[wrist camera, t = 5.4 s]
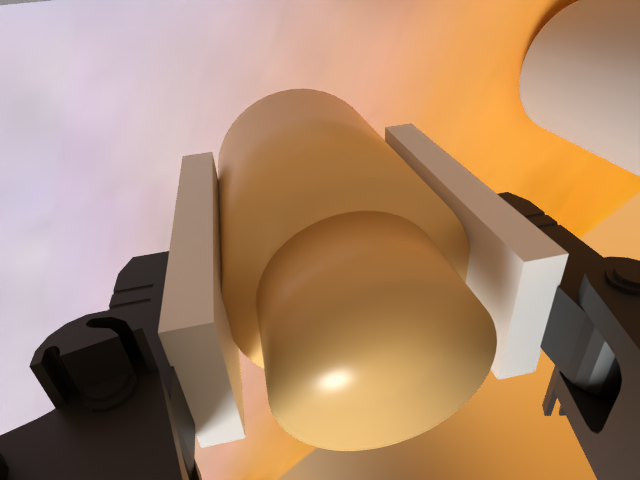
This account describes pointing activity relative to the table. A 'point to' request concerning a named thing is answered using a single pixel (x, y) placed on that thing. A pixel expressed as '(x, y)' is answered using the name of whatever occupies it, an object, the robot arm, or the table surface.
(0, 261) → the table surface
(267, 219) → the nesting doll
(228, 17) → the table surface
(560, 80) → the beverage can
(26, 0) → the collar board
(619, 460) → the robot arm
